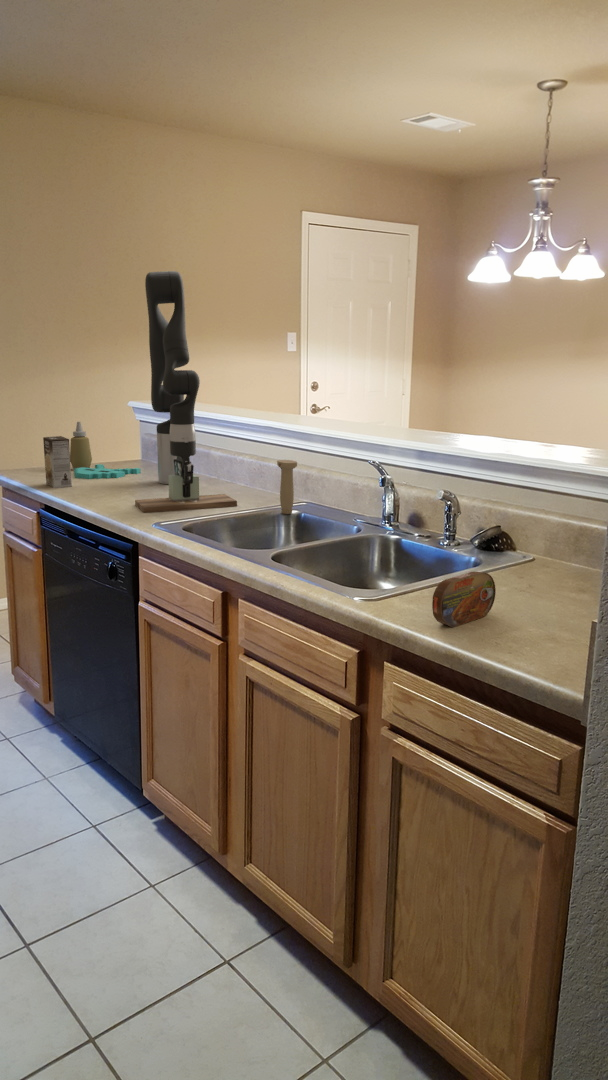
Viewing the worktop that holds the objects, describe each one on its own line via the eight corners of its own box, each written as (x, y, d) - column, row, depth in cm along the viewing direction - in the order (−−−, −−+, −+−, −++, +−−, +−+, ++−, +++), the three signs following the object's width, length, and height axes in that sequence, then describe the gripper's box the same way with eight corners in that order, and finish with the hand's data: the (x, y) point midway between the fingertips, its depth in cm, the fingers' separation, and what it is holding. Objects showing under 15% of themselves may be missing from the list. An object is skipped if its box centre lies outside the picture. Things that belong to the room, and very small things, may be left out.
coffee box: (45, 484, 273) (42, 436, 270) (64, 482, 277) (61, 435, 273) (53, 488, 266) (50, 439, 262) (72, 486, 270) (70, 438, 266)
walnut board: (135, 504, 241) (134, 499, 240) (224, 498, 251) (224, 493, 251) (143, 512, 230) (143, 507, 230) (237, 505, 241) (236, 500, 240)
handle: (285, 516, 227) (285, 463, 224) (273, 512, 232) (273, 460, 229) (299, 514, 230) (300, 462, 226) (287, 510, 235) (288, 459, 231)
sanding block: (169, 498, 243) (168, 475, 241) (194, 496, 246) (194, 473, 244) (173, 501, 239) (172, 477, 237) (199, 499, 242) (198, 476, 240)
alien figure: (99, 469, 307) (61, 477, 290) (98, 464, 307) (60, 471, 290) (140, 474, 298) (103, 482, 281) (140, 468, 298) (103, 476, 281)
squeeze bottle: (66, 470, 301) (63, 422, 297) (76, 467, 309) (73, 420, 305) (87, 471, 300) (84, 423, 296) (95, 468, 308) (93, 421, 304)
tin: (441, 631, 138) (444, 584, 136) (427, 626, 140) (429, 580, 138) (495, 614, 147) (498, 569, 145) (481, 609, 150) (484, 566, 148)
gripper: (164, 436, 243) (166, 492, 247) (176, 442, 230) (178, 500, 234) (188, 435, 246) (189, 490, 250) (201, 441, 233) (203, 499, 237)
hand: (184, 495), depth 242 cm, fingers closed on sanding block, 5 cm apart
